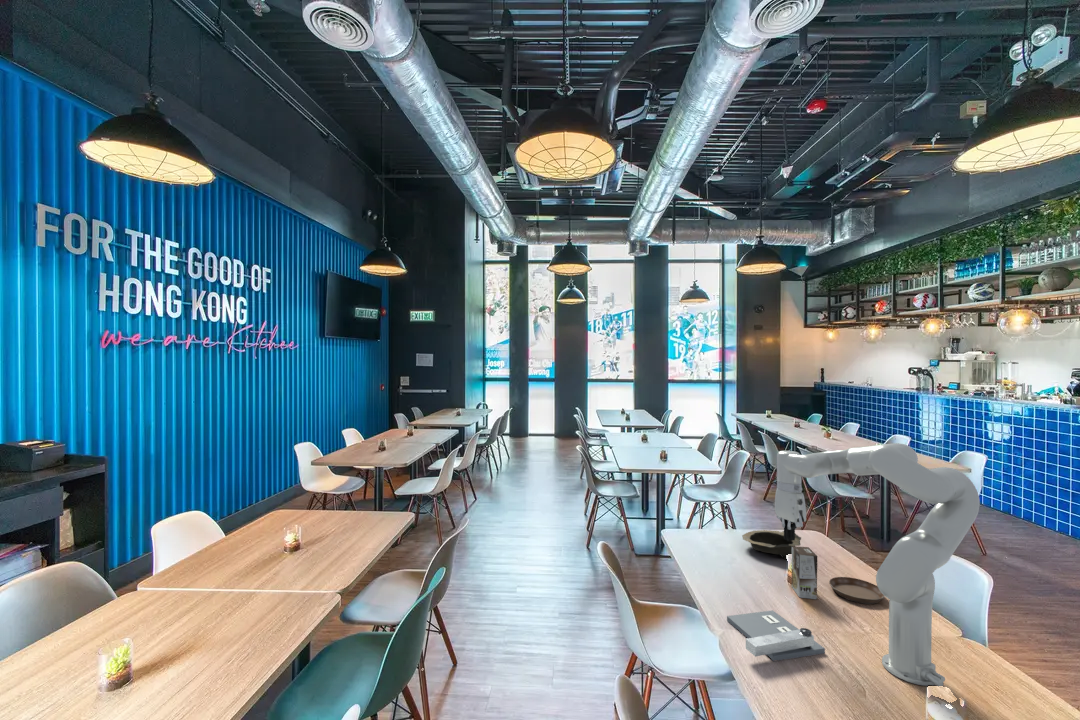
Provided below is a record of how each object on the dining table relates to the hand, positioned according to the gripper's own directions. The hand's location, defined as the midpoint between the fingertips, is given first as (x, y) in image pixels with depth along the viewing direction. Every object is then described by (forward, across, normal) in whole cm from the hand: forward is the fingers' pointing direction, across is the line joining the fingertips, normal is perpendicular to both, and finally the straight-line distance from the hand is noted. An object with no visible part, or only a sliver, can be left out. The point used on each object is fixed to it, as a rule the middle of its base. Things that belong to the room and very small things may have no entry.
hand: (789, 539), depth 162 cm
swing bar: (+24, -19, +21) cm, 37 cm away
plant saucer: (+26, +6, -36) cm, 45 cm away
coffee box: (+26, +12, -17) cm, 33 cm away
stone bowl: (+26, +47, -33) cm, 63 cm away
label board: (+26, -9, +15) cm, 32 cm away
